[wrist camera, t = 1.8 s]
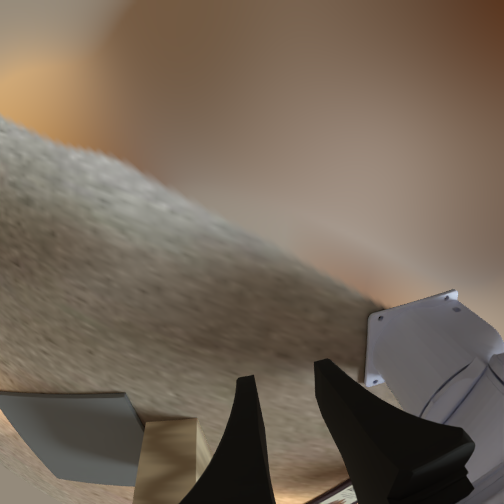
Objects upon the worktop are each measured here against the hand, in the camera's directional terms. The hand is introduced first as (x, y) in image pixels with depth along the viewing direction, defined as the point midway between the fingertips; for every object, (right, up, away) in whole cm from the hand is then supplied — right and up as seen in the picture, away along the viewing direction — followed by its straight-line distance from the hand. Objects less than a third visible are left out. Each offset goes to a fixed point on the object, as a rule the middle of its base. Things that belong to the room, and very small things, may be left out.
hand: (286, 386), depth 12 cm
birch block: (-8, -14, +14) cm, 22 cm away
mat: (-20, -16, +14) cm, 29 cm away
